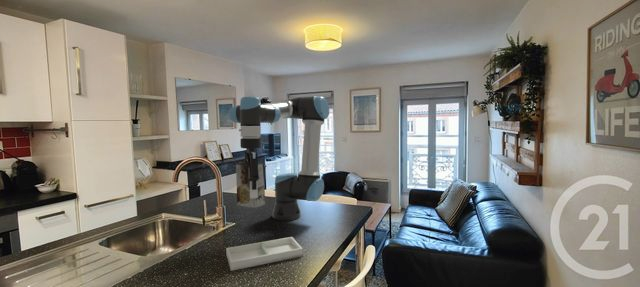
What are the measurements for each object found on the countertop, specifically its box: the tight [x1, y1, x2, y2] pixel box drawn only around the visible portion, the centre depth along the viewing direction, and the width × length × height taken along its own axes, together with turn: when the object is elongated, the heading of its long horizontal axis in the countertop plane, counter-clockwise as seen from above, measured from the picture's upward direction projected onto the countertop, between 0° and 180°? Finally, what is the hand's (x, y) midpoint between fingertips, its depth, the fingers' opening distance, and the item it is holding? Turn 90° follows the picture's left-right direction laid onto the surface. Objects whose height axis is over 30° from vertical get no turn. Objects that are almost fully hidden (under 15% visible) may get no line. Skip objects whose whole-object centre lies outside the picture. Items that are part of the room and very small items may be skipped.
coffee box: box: [235, 162, 266, 209], centre depth 113 cm, size 9×6×16 cm
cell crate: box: [225, 236, 304, 272], centre depth 111 cm, size 13×26×3 cm, turn 114°
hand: (251, 194), depth 113 cm, fingers closed on coffee box, 11 cm apart
